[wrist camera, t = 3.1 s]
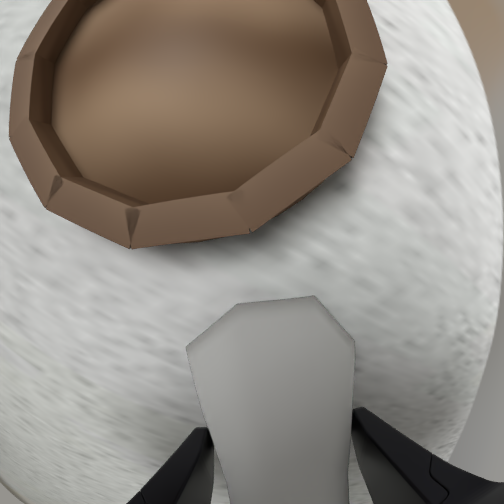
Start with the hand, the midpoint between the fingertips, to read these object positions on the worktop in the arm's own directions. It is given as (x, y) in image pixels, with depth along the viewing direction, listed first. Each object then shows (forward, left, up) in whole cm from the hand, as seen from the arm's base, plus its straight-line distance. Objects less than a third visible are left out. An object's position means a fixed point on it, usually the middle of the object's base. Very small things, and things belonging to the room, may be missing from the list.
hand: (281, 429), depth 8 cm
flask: (0, 0, -4) cm, 4 cm away
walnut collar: (+13, +2, -4) cm, 14 cm away
